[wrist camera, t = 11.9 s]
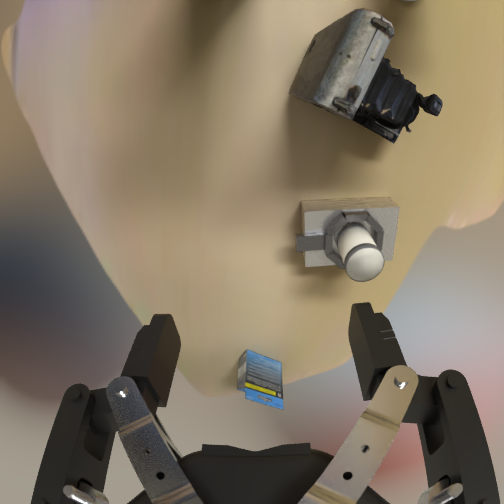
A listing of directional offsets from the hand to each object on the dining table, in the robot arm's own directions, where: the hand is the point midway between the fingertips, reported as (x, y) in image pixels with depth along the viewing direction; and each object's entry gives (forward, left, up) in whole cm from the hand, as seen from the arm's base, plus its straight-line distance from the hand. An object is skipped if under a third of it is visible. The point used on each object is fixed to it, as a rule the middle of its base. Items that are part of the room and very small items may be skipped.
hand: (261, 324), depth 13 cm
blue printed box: (+43, -4, -32) cm, 54 cm away
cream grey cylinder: (+12, +12, -28) cm, 33 cm away
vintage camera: (-9, +13, -32) cm, 36 cm away
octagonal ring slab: (+12, +12, -32) cm, 36 cm away
